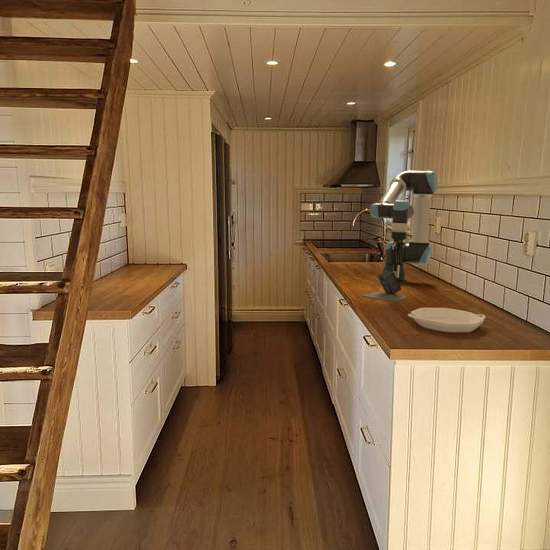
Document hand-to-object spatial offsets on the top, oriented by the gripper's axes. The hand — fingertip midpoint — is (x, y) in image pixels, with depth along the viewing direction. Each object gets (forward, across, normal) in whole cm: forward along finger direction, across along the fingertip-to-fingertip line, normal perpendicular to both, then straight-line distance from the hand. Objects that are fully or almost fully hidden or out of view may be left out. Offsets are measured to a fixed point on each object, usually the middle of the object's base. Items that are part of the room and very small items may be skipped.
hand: (395, 277), depth 246 cm
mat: (+9, +11, 0) cm, 14 cm away
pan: (+9, +44, +41) cm, 61 cm away
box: (+7, +1, 0) cm, 7 cm away
